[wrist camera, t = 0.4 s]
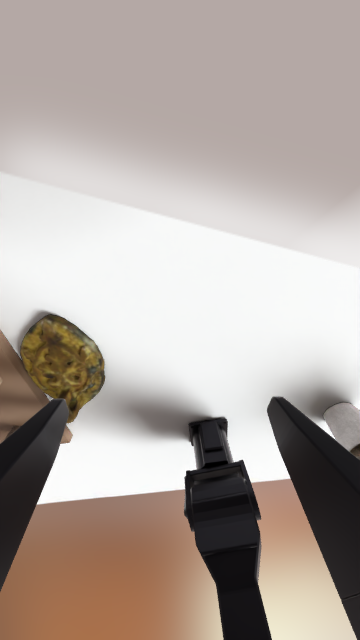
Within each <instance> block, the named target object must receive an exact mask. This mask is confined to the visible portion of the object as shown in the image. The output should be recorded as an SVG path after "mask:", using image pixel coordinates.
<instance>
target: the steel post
mask: <svg viewBox="0 0 360 640" xmlns="http://www.w3.org/2000/svg"><path fill="white" fill-rule="evenodd" d="M19 427H20V426H13V427H12V429H11V430H10V432H9V433H8V434H7V436H6V437H5V439H6V438H8V437H9V436H10V435H11V434H12V433H13V432H15V431H16V430H17V429H18V428H19ZM5 439H4V440H5ZM4 440H3V441H4Z"/></svg>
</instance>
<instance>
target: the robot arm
mask: <svg viewBox="0 0 360 640" xmlns="http://www.w3.org/2000/svg"><path fill="white" fill-rule="evenodd" d="M267 413H268V416H269V420H270V423H271V426H272V429H273V433H274V436H275V439H276V442H277V445H278V448H279V451H280V453H281V456H282V458H283V461H284V463H285V466H286V468H287V470H288V473H289V475H290V478H291V480H292V482H293V485H294V487H295V490H296V492H297V495H298V497H299V499H300V502H301V504H302V507H303V509H304V511H305V514H306V516H307V519H308V521H309V524H310V526H311V528H312V531H313V533H314V536H315V538H316V541H317V543H318V545H319V548H320V550H321V552H322V555H323V558H324V560H325V562H326V565H327V567H328V569H329V572H330V574H331V577H332V579H333V582H334V584H335V587H336V589H337V591H338V594H339V596H340V598H341V599H342V600H341V601H342V604H343V606H344V609H345V611H346V614H347V616H348V618H349V621H350V623H351V626H352V628H353V631H354V633H355V635H356V638H357V640H360V460H359V459H358V458H357V457H356V456H354V455H353V454H352V453H351V452H349V451H348V450H347V449H346V448H345V447H343V446H342V445H341V444H340V443H338V442H337V441H336V440H335V439H334V438H332V437H331V436H330V435H329V434H327V433H326V432H325V431H324V430H323V429H321V428H320V427H319V426H318V425H316V424H315V423H314V422H313V421H312V420H310V419H309V418H308V417H307V416H305V415H304V414H303V413H302V412H301V411H299V410H298V409H297V408H296V407H294V406H293V405H292V404H291V403H290V402H288V401H287V400H286V399H285V398H283V397H280V396H278V397H272V399H271V401H270V403H269V405H268V408H267ZM68 416H69V410H68V407H67V404H66V401H65V399H53V400H51V401H50V402H49V403H48V404H46V405H45V406H44V407H43V408H42V409H41V410H39V411H38V412H37V413H36V414H35V415H33V416H32V417H31V418H30V419H29V420H28V421H26V422H25V423H24V424H23V425H22V426H20V427H19V428H18V429H17V430H16V431H15V432H13V433H12V434H11V435H10V436H9V437H8V438H6V439H5V440H4V441H3V442H2V443H0V591H1V589H2V586H3V584H4V581H5V579H6V576H7V574H8V572H9V569H10V567H11V564H12V562H13V560H14V557H15V555H16V553H17V550H18V548H19V545H20V543H21V540H22V538H23V536H24V533H25V531H26V528H27V526H28V524H29V521H30V519H31V516H32V514H33V511H34V509H35V507H36V504H37V502H38V500H39V497H40V495H41V492H42V490H43V487H44V485H45V483H46V480H47V478H48V475H49V473H50V471H51V468H52V466H53V463H54V461H55V458H56V455H57V452H58V449H59V446H60V443H61V439H62V436H63V433H64V430H65V426H66V423H67V420H68ZM227 425H228V422H227V419H217V420H210V421H202V422H195V423H190V424H189V431H190V438H191V444H192V446H194V451H195V459H196V467H197V470H192V471H190V470H188V471H186V476H185V477H184V478H185V504H184V515H185V516H186V517H187V519H188V521H189V524H190V528H191V531H192V532H195V541H196V546H197V548H198V550H199V552H200V554H201V556H202V558H203V560H204V562H205V564H206V566H207V568H208V570H209V572H210V573H211V576H212V578H213V579H214V581H215V583H216V587H217V594H218V601H219V609H220V616H221V623H222V631H223V638H224V640H272V638H271V634H270V630H269V626H268V622H267V618H266V614H265V610H264V606H263V602H262V598H261V594H260V590H259V586H258V577H259V566H260V556H261V538H260V531H259V527H258V524H257V520H261V515H260V511H259V508H258V504H257V501H256V497H255V494H254V491H253V488H252V485H251V482H250V479H249V476H248V473H247V470H246V467H245V465H244V462H243V460H239V461H238V462H233V458H232V455H231V451H230V447H229V444H228V440H227Z"/></svg>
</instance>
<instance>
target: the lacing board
mask: <svg viewBox="0 0 360 640" xmlns="http://www.w3.org/2000/svg"><path fill="white" fill-rule="evenodd" d="M0 377H1V379H2V382H1V384H0V443H2V442H3V440H4V439H5V437H6V436H7V434H8V433H9V432H10V430H11V429H12V427H13V426H22V425H23V424H24V423H25V422H26V421H28V420H29V419H30V418H31V417H32V416H33V415H35V414H36V413H37V412H38V411H39V410H41V409H42V408H43V407H44V406H45V405H46V404H48V403H49V402H50V401H49V400H48V398H47V397H46V396H45V394H44V393H43V391H42V390H41V389H40V388H39V387H37V385H36V384H35V383H34V382H33V380H32V379H31V377H30V376H29V375H28V372H27V370H26V368H25V366H24V364H23V362H22V361H21V359H20V358H19V356H18V355H17V353H16V352H15V351H14V349H13V348H12V346H11V345H10V343H9V342H8V340H7V339H6V337H5V336H4V335H3V333H2V332H1V330H0ZM72 436H73V435H72V433H71V432H70V430H69V429H68V427H67V426H65V430H64V433H63V436H62V439H61V443H60V444H63V443H70V441H71V438H72Z"/></svg>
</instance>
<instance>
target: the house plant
mask: <svg viewBox="0 0 360 640" xmlns="http://www.w3.org/2000/svg"><path fill="white" fill-rule="evenodd" d="M323 417H324V419H325V421H326V423H327V424H328V426H329V428H330V430H331V432H332V433H333V435H334V437H335V439H336V441H337V442H338V443H340V444H341V445H342V446H343V447H345V448H346V449H347V450H348V451H349V452H351V453H352V454H353V455H354V456H356V457H357V458H358V459H359V460H360V410H358V409H357V408H356V407H355V406H353V405H352V404H350V403H346V402H344V403H339V404H336V405H333V406H332V407H330V408H328V409H327V410H326V411H325V413H324V415H323Z"/></svg>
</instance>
